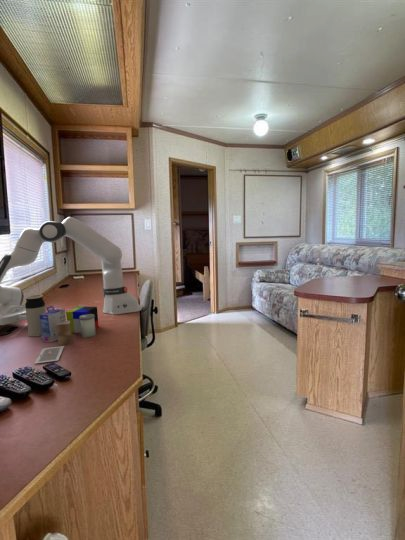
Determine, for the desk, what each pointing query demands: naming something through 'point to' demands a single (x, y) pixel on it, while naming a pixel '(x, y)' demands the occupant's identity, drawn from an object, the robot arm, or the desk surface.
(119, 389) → the desk surface
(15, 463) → the desk surface
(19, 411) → the desk surface
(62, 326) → the brown cylindrical container
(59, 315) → the ink cartridge box
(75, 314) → the puzzle toy
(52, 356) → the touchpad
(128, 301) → the robot arm
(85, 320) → the sage canister
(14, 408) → the desk surface
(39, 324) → the travel mug
